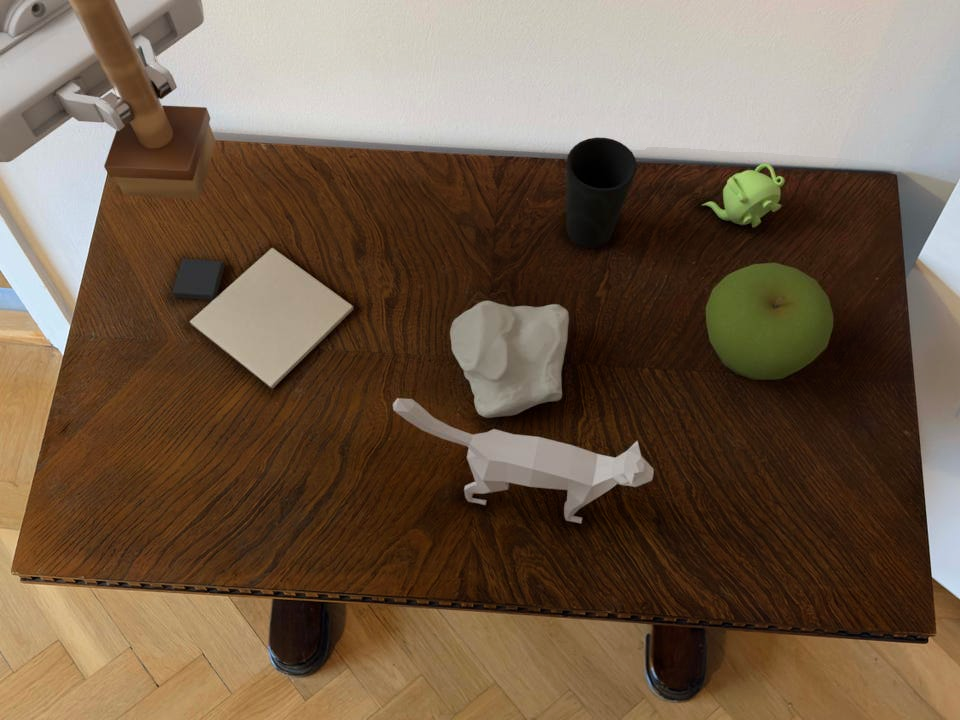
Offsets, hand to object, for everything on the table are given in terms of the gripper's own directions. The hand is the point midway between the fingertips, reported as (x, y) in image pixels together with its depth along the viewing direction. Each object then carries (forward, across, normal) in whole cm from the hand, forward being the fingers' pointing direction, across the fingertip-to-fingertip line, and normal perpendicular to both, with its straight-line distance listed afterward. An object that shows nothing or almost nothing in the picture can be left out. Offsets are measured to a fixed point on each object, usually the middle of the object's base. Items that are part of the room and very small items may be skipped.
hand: (146, 102), depth 60 cm
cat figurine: (+34, +1, +25) cm, 42 cm away
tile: (+5, 0, +25) cm, 25 cm away
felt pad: (-4, -1, +25) cm, 25 cm away
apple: (+42, +26, +25) cm, 56 cm away
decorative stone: (+27, +10, +25) cm, 38 cm away
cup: (+23, +28, +25) cm, 44 cm away
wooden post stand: (-1, 0, +8) cm, 8 cm away
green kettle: (+34, +39, +25) cm, 57 cm away
